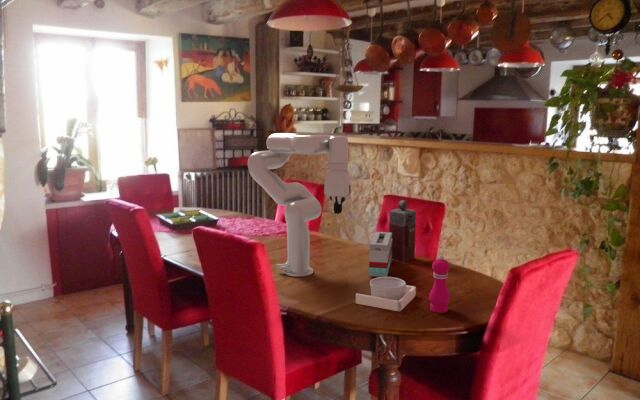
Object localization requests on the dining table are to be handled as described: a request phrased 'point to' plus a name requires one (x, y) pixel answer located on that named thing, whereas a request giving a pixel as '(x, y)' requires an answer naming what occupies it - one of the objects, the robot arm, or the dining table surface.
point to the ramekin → (388, 288)
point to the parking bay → (388, 300)
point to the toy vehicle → (380, 254)
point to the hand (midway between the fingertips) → (337, 213)
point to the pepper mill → (440, 286)
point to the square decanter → (403, 232)
